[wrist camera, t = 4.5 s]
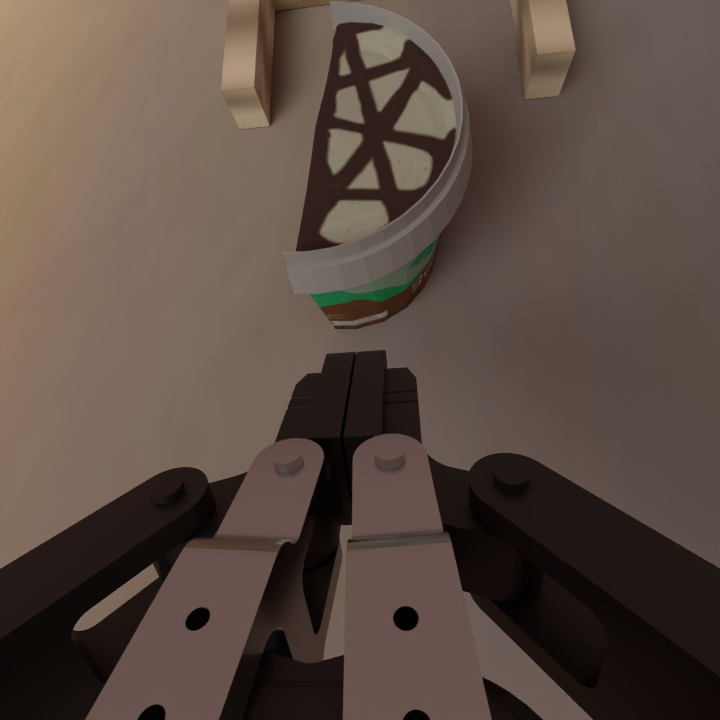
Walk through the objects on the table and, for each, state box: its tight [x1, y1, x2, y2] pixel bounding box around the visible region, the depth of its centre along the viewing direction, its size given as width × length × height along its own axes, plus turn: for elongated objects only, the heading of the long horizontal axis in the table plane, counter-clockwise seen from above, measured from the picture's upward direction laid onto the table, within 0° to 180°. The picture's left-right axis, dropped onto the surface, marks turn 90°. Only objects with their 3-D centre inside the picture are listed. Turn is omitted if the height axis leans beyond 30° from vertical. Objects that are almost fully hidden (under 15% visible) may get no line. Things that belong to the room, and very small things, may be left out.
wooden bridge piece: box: [221, 0, 576, 129], centre depth 29 cm, size 12×20×3 cm, turn 91°
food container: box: [282, 1, 473, 329], centre depth 21 cm, size 12×6×10 cm, turn 173°
